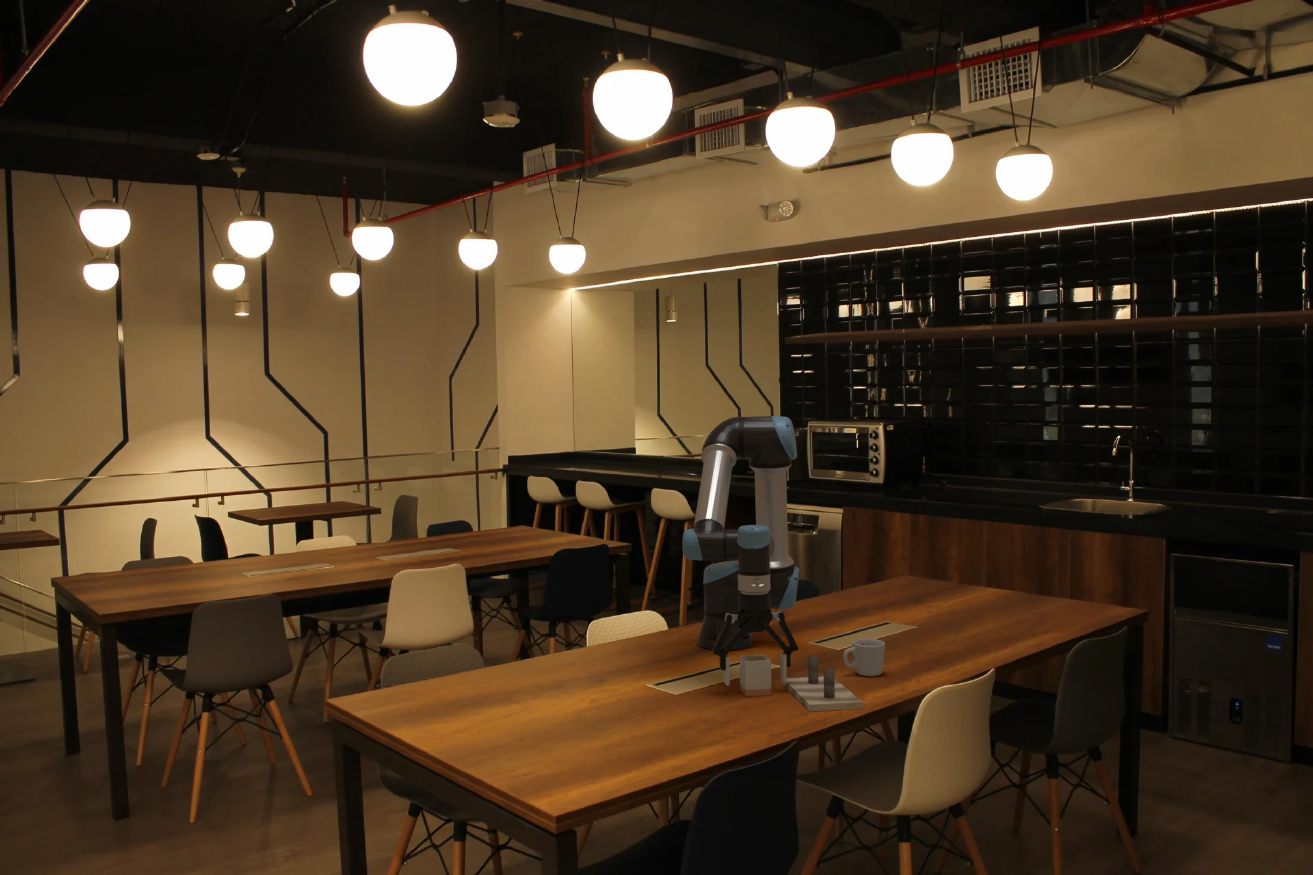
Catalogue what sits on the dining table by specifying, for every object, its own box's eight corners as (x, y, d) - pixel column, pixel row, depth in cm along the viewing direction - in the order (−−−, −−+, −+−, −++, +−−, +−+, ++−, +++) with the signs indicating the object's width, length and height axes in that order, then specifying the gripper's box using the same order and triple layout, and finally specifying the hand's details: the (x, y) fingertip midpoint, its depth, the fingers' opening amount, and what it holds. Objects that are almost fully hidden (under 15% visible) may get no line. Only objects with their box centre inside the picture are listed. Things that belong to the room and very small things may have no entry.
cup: (851, 680, 243) (850, 647, 243) (836, 672, 250) (836, 640, 250) (891, 676, 246) (891, 644, 245) (875, 668, 253) (875, 637, 253)
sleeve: (740, 689, 236) (739, 655, 236) (764, 687, 237) (764, 654, 237) (746, 696, 231) (745, 661, 230) (771, 694, 231) (770, 660, 231)
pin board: (783, 684, 240) (782, 653, 240) (831, 681, 242) (830, 651, 241) (810, 711, 218) (809, 677, 218) (862, 708, 220) (862, 674, 220)
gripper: (704, 596, 228) (705, 689, 228) (810, 592, 231) (811, 683, 232) (698, 591, 235) (699, 681, 236) (801, 587, 239) (802, 675, 239)
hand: (755, 682), depth 234 cm, fingers open, 13 cm apart
